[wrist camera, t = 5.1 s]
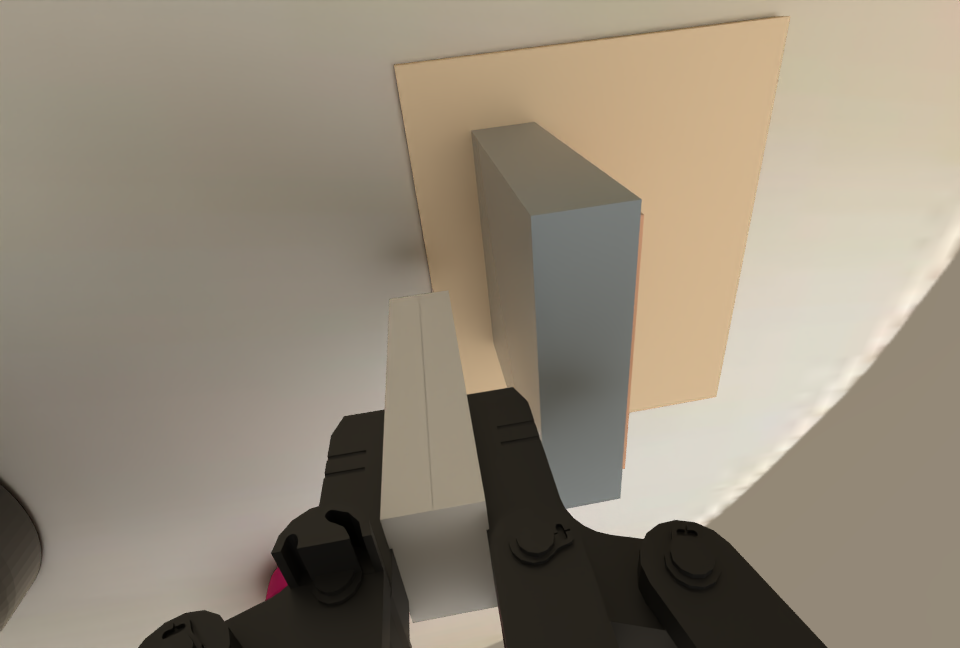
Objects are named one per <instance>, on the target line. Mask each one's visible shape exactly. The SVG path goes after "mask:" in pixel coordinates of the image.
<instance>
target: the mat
mask: <svg viewBox="0 0 960 648" xmlns="http://www.w3.org/2000/svg"><path fill="white" fill-rule="evenodd" d="M789 21H790V16H777V17H769V18H762V19H754V20H746V21H738V22H730V23H722V24H714V25H706V26H698V27H690V28H682V29H674V30H666V31H658V32H650V33H642V34H634V35H626V36H619V37H611V38H603V39H595V40H587V41H579V42H571V43H563V44H555V45H547V46H539V47H531V48H523V49H515V50H507V51H499V52H491V53H483V54H476V55H468V56H460V57H452V58H444V59H436V60H428V61H420V62H412V63H404V64H396V65H394V69H395V74H396V80H397V86H398V92H399V98H400V104H401V109H402V115H403V121H404V127H405V133H406V138H407V144H408V150H409V156H410V162H411V167H412V173H413V179H414V185H415V191H416V197H417V202H418V208H419V214H420V220H421V226H422V231H423V237H424V243H425V249H426V255H427V260H428V266H429V272H430V278H431V284H432V290H433V292H440V291H447V290H448V291H449V297H450V302H451V308H452V314H453V319H454V325H455V331H456V337H457V342H458V348H459V354H460V359H461V365H462V371H463V376H464V382H465V388H466V394H473V393H479V392H485V391H491V390H497V389H504V388H507V386H506V383H505V379H504V376H503V373H502V370H501V366H500V363H499V360H498V356H497V353H496V350H495V347H494V343H493V334H492V325H491V315H490V306H489V296H488V287H487V277H486V268H485V258H484V249H483V239H482V230H481V220H480V211H479V201H478V192H477V182H476V173H475V163H474V154H473V144H472V135H471V130H478V129H485V128H492V127H500V126H507V125H514V124H522V123H529V122H535V123H537V124H538V125H539V126H541V127H542V128H544V129H545V130H546V131H548V132H549V133H551V134H552V135H553V136H555V137H556V138H557V139H559V140H560V141H562V142H563V143H564V144H566V145H567V146H569V147H570V148H571V149H573V150H574V151H576V152H577V153H578V154H580V155H581V156H582V157H584V158H585V159H587V160H588V161H589V162H591V163H592V164H594V165H595V166H596V167H598V168H599V169H600V170H602V171H603V172H605V173H606V174H607V175H609V176H610V177H612V178H613V179H614V180H616V181H617V182H618V183H620V184H621V185H623V186H624V187H625V188H627V189H628V190H630V191H631V192H632V193H634V194H635V195H637V196H638V197H639V198H641V199H642V203H641V213H643V214H644V223H643V236H642V249H641V262H640V275H639V288H638V301H637V314H636V328H635V341H634V354H633V367H632V380H631V393H630V406H629V413H630V412H635V411H641V410H646V409H652V408H658V407H663V406H669V405H674V404H680V403H685V402H691V401H696V400H702V399H707V398H713V397H716V395H717V390H718V385H719V380H720V375H721V369H722V364H723V359H724V354H725V349H726V344H727V339H728V334H729V328H730V323H731V318H732V313H733V308H734V303H735V298H736V293H737V288H738V282H739V277H740V272H741V267H742V262H743V257H744V252H745V247H746V241H747V236H748V231H749V226H750V221H751V216H752V211H753V206H754V200H755V195H756V190H757V185H758V180H759V175H760V170H761V165H762V159H763V154H764V149H765V144H766V139H767V134H768V129H769V124H770V118H771V113H772V108H773V103H774V98H775V93H776V88H777V83H778V77H779V72H780V67H781V62H782V57H783V52H784V47H785V42H786V36H787V31H788V26H789Z"/></svg>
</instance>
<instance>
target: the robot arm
mask: <svg viewBox="0 0 960 648" xmlns="http://www.w3.org/2000/svg"><path fill="white" fill-rule="evenodd" d="M271 554H272V556H273V558H274V560H275V562H276V563H277V565H278V567H279V569H280V571H281V573H282V575H283V577H284V579H285V580H286V582H287V584H288V585H287V586H286V587H285V588H284V589H283V590H282V591H281V592H279V593H278V594H276V595H274V596H273V597H271V598H269V599H268V600H266V601H264V602H262V603H260V604H258V605H256V606H254V607H252V608H250V609H248V610H246V611H244V612H242V613H240V614H238V615H236V616H234V617H232V618H230V619H228V620H226V621H224V620H223V619H222V618H221V616H220V615H218V614H215V613H212V612H209V611H205V610H202V611H196V612H189V613H185V614H182V615H180V616H178V617H176V618H174V619H172V620H170V621H168V622H166V623H164V624H163V625H162V626H161V627H159V628H158V629H157V630H156V631H154V632H153V633H152V634H151V635H150V636H148V637H147V638H146V639H145V640H144V641H143V642H142V644H141V645H140V646H139V647H138V648H412V646H411V643H410V640H409V612H410V615H411V618H412V622H413V623H415V622H420V621H425V620H430V619H436V618H441V617H446V616H451V615H456V614H462V613H467V612H472V611H477V610H482V609H488V608H493V607H498V609H499V615H500V621H501V627H502V634H503V641H504V647H505V648H827V647H826V646H825V644H824V643H822V641H821V640H820V639H819V638H818V637H817V636H816V635H815V634H814V633H813V632H812V631H811V630H810V628H809V627H808V626H807V625H806V624H805V623H804V622H803V621H802V620H801V619H800V618H799V617H798V616H797V615H796V614H795V612H793V610H792V609H791V608H790V607H789V606H788V605H787V604H786V603H785V602H784V601H783V600H782V599H781V598H780V597H779V595H777V593H776V592H775V591H774V590H773V589H772V588H771V587H770V586H769V585H768V584H767V583H766V581H765V580H764V579H763V578H762V577H761V576H760V575H759V574H758V573H757V572H756V571H755V570H754V569H753V568H752V567H751V566H750V564H749V563H748V562H747V561H746V560H745V559H744V558H743V557H742V556H741V555H740V554H739V553H738V552H737V551H736V549H734V547H733V546H732V545H731V544H730V543H729V542H727V541H726V540H725V539H724V538H722V537H721V536H720V535H718V534H717V533H716V532H715V531H714V530H711V529H709V528H707V527H704V526H702V525H700V524H697V523H695V522H687V521H679V520H674V521H670V522H665V523H661V524H658V525H657V526H656V527H654V528H653V529H652V530H650V531H649V532H648V533H646V536H645V538H644V539H639V538H631V537H623V536H615V535H609V534H605V533H600V532H596V531H594V530H592V529H590V528H588V527H585V526H584V525H582V524H581V523H580V522H578V521H577V520H575V519H574V518H573V517H572V516H571V515H570V513H569V512H568V511H567V510H566V509H565V507H564V505H563V503H562V501H561V499H560V496H559V493H558V490H557V487H556V484H555V481H554V478H553V475H552V472H551V469H550V466H549V463H548V460H547V457H546V454H545V451H544V448H543V445H542V442H541V440H540V437H539V433H538V430H537V427H536V424H535V422H534V418H533V415H532V412H531V409H530V406H529V403H528V401H527V400H526V399H525V398H524V397H523V396H522V395H521V394H520V393H519V392H518V391H517V390H516V389H515V388H513V387H510V388H504V389H497V390H491V391H485V392H479V393H473V394H466V388H465V382H464V376H463V371H462V365H461V359H460V354H459V348H458V342H457V337H456V331H455V325H454V319H453V314H452V308H451V302H450V297H449V291H448V290H447V291H440V292H433V293H427V294H420V295H413V296H407V297H400V298H393V299H389V321H388V345H387V368H386V392H385V410H380V411H373V412H367V413H361V414H355V415H349V416H344V417H343V419H342V420H341V422H340V423H339V425H338V426H337V428H336V429H335V431H334V432H333V434H332V435H331V439H330V445H329V451H328V461H327V463H326V469H325V478H324V481H323V487H322V492H321V498H320V504H319V506H318V507H315V508H312V509H309V510H308V511H306V512H305V513H303V514H302V515H300V516H298V517H297V518H295V519H294V520H292V522H291V523H290V524H289V525H288V526H287V527H286V528H285V529H284V531H283V532H282V533H281V534H280V535H279V537H278V539H277V541H276V543H275V546H274V548H273V550H272V552H271ZM40 563H41V546H40V541H39V538H38V534H37V532H36V529H35V527H34V525H33V523H32V521H31V520H30V518H29V516H28V515H27V513H26V512H25V510H24V509H23V508H22V506H21V505H20V504H19V503H18V502H17V500H16V499H15V498H14V497H13V496H12V495H11V494H10V493H9V492H8V491H7V490H6V489H5V488H4V487H3V486H2V485H1V484H0V631H1V630H2V629H3V628H4V627H5V625H6V624H7V622H8V621H9V619H10V618H11V616H12V615H13V613H14V612H15V610H16V608H17V607H18V605H19V604H20V602H21V601H22V599H23V598H24V596H25V595H26V593H27V591H28V590H29V588H30V587H31V585H32V584H33V582H34V580H35V579H36V576H37V574H38V571H39V568H40Z"/></svg>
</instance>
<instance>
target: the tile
mask: <svg viewBox="0 0 960 648" xmlns="http://www.w3.org/2000/svg"><path fill="white" fill-rule="evenodd" d="M471 135H472V144H473V154H474V163H475V173H476V182H477V192H478V201H479V211H480V220H481V230H482V239H483V249H484V258H485V268H486V277H487V287H488V296H489V306H490V315H491V325H492V334H493V343H494V347H495V350H496V353H497V356H498V360H499V363H500V366H501V370H502V373H503V376H504V379H505V383H506V386H507V388H510V387H513V388H515V389H516V390H517V391H518V392H519V393H520V394H521V395H522V396H523V397H524V398H525V399H526V400H527V401H528V403H529V406H530V409H531V412H532V415H533V418H534V422H535V424H536V427H537V430H538V433H539V437H540V440H541V442H542V445H543V448H544V451H545V454H546V457H547V460H548V463H549V466H550V469H551V472H552V475H553V478H554V481H555V484H556V487H557V490H558V493H559V496H560V499H561V501H562V503H563V505H564V507H565V509H567V508H573V507H578V506H583V505H588V504H593V503H598V502H604V501H609V500H614V499H619V498H620V493H621V480H622V469H625V459H626V446H627V433H628V419H629V406H630V393H631V380H632V367H633V354H634V341H635V328H636V314H637V301H638V288H639V275H640V262H641V249H642V236H643V223H644V214H643V213H641V203H642V199H641V198H639V197H638V196H637V195H635V194H634V193H632V192H631V191H630V190H628V189H627V188H625V187H624V186H623V185H621V184H620V183H618V182H617V181H616V180H614V179H613V178H612V177H610V176H609V175H607V174H606V173H605V172H603V171H602V170H600V169H599V168H598V167H596V166H595V165H594V164H592V163H591V162H589V161H588V160H587V159H585V158H584V157H582V156H581V155H580V154H578V153H577V152H576V151H574V150H573V149H571V148H570V147H569V146H567V145H566V144H564V143H563V142H562V141H560V140H559V139H557V138H556V137H555V136H553V135H552V134H551V133H549V132H548V131H546V130H545V129H544V128H542V127H541V126H539V125H538V124H537V123H535V122H529V123H522V124H514V125H507V126H500V127H492V128H485V129H478V130H471Z"/></svg>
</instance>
